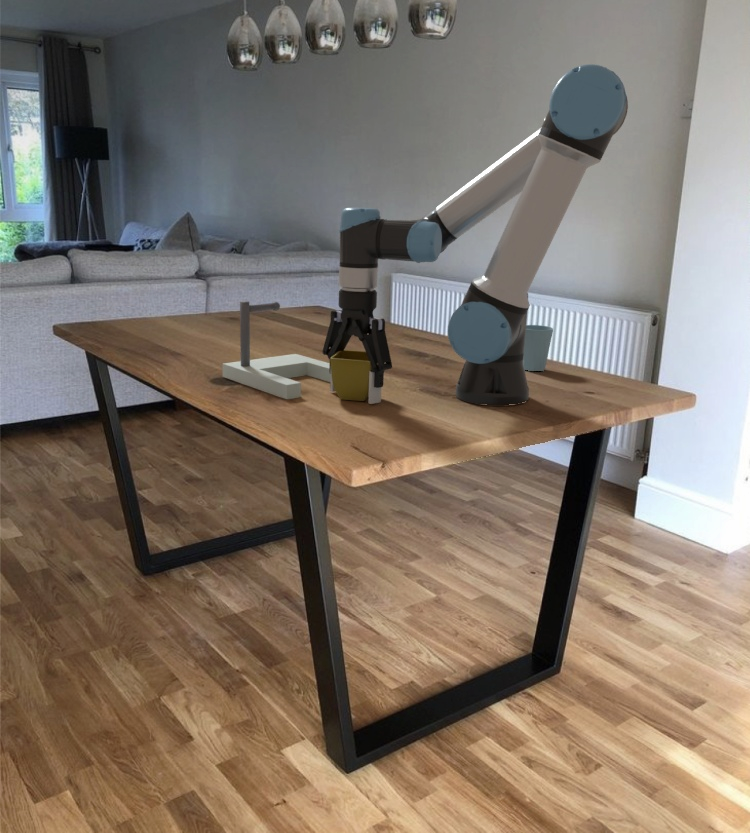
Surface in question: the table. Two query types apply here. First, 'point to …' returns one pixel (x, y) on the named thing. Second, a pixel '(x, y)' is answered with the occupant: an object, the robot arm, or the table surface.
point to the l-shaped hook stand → (271, 363)
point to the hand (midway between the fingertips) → (355, 396)
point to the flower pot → (351, 374)
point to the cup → (536, 347)
